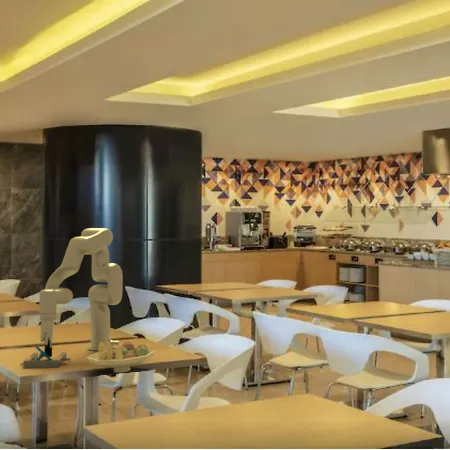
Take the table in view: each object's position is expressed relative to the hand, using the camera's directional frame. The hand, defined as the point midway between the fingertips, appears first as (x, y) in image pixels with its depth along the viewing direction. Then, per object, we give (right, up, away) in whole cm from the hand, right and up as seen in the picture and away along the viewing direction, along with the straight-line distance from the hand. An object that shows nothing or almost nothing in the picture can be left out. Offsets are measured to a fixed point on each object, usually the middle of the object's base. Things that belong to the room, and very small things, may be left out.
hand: (48, 356), depth 343 cm
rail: (0, -1, -7) cm, 7 cm away
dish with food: (+37, -2, -28) cm, 46 cm away
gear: (-1, -2, -6) cm, 6 cm away
